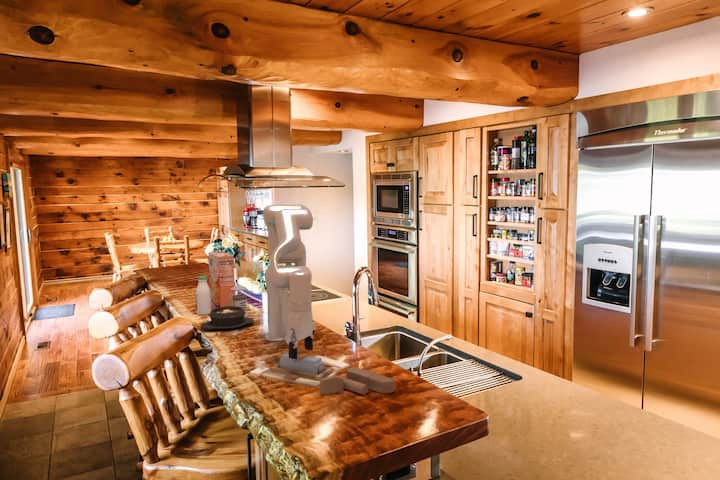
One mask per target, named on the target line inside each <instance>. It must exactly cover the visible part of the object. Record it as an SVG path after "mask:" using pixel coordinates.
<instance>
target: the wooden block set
mask: <svg viewBox="0 0 720 480" xmlns="http://www.w3.org/2000/svg"><path fill="white" fill-rule="evenodd" d="M345 374H346V375H345V377H343V376H342V375H341V376H340V375H335V376H331V377H328V378H326V379H324V380H321V381H320V386H319V387H320V388H319V389H320V396H321V395H322V396H323V395H335V394H344V389H345V390H348V391H351V392H354V393H356V394H359V395H362V396H364V395H366V394H367V393H368V391H369V390H370V391H373V392H377V393H380V394H393V393H394V392H396V379H394V378H391V377H388V376H385V375H381V374H378V373H376V372H374V371H371V370H367V369H363V368H360V367H356V366H353V367H350V368H349V369H347V370H346V373H345Z"/></svg>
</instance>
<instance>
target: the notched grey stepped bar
mask: <svg viewBox="0 0 720 480" xmlns="http://www.w3.org/2000/svg"><path fill="white" fill-rule="evenodd" d="M279 361H280V362H279V363H280V368H285V369H290V370H295V371H301V372H306V373H311V374H316V375H319V374H320V373H322V372H323V371H325V367H326V366H324V364H323V362H321V358H319V357H315V356H311V355H308V356H305V358H301V357H300V353H297V359H291V358H289V351H287V352H285V353H284V354H282V355H281V357H280V360H279Z"/></svg>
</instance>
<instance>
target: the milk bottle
mask: <svg viewBox="0 0 720 480" xmlns="http://www.w3.org/2000/svg"><path fill="white" fill-rule="evenodd" d="M197 281H198V284H197V286H196V289H195V314H196V315H197V316H206V315H208V316H209V314H210V312H211V310H212V306H211V292H210V285H209V284H208V276H207V275H200V276H197Z"/></svg>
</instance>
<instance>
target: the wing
mask: <svg viewBox="0 0 720 480" xmlns="http://www.w3.org/2000/svg"><path fill="white" fill-rule="evenodd" d="M314 357H319V358H321V362H323V365H327V366H331V367H332V368H333V367H334V368H336V369H339V370H343V369H345V368H348V367H350V364H349V363H347V362H343V361H339V360H337V359H332V358H329V357H325V356H322V355H315V356H314Z"/></svg>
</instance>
